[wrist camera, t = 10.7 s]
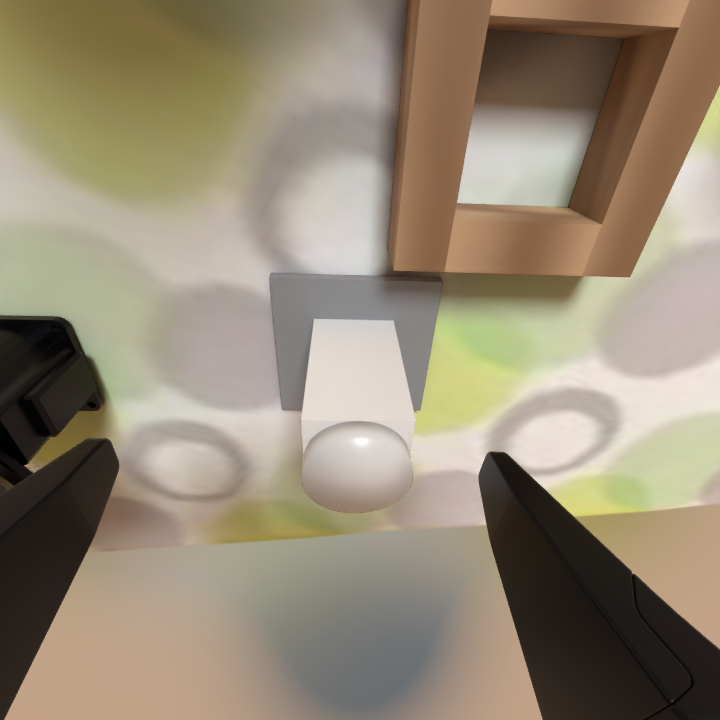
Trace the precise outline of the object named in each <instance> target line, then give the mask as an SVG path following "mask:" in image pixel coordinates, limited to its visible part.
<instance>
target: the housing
mask: <svg viewBox="0 0 720 720" xmlns="http://www.w3.org/2000/svg"><path fill="white" fill-rule="evenodd" d="M487 29H488V30H504V31H520V32H535V33H551V34H567V35H583V36H599V37H615V38H625V39H624V42H623V45H622V48H621V51H620V54H619V57H618V60H617V63H616V66H615V69H614V72H613V75H612V78H611V81H610V84H609V87H608V90H607V93H606V96H605V99H604V102H603V105H602V108H601V111H600V114H599V116H598V119H597V122H596V125H595V128H594V131H593V134H592V137H591V140H590V143H589V146H588V149H587V152H586V155H585V158H584V161H583V164H582V167H581V170H580V173H579V176H578V179H577V182H576V185H575V188H574V191H573V194H572V197H571V200H570V203H569V206H568V208H566V207H540V206H513V205H487V204H460V203H457V198H458V192H459V187H460V181H461V175H462V170H463V164H464V158H465V153H466V147H467V141H468V136H469V130H470V124H471V119H472V113H473V107H474V102H475V96H476V90H477V85H478V79H479V73H480V68H481V62H482V56H483V51H484V45H485V39H486V34H487ZM719 85H720V0H408V12H407V23H406V35H405V47H404V59H403V70H402V82H401V94H400V106H399V118H398V129H397V141H396V153H395V165H394V176H393V188H392V200H391V212H390V223H389V235H388V247H387V249H388V252H389V256H390V259H391V263H392V266H393V270H394V271H424V272H460V273H496V274H532V275H567V276H603V277H630V276H631V274H632V272H633V270H634V267H635V265H636V263H637V261H638V259H639V257H640V255H641V252H642V250H643V248H644V246H645V244H646V242H647V240H648V238H649V235H650V233H651V231H652V229H653V227H654V225H655V223H656V220H657V218H658V216H659V214H660V212H661V210H662V208H663V205H664V203H665V201H666V199H667V197H668V195H669V193H670V190H671V188H672V186H673V184H674V182H675V180H676V178H677V175H678V173H679V171H680V169H681V167H682V165H683V163H684V160H685V158H686V156H687V154H688V152H689V150H690V148H691V145H692V143H693V141H694V139H695V137H696V135H697V133H698V130H699V128H700V126H701V124H702V122H703V120H704V118H705V115H706V113H707V111H708V109H709V107H710V105H711V103H712V100H713V98H714V96H715V94H716V92H717V90H718V88H719Z"/></svg>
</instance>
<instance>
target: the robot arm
mask: <svg viewBox="0 0 720 720" xmlns="http://www.w3.org/2000/svg"><path fill="white" fill-rule="evenodd" d="M56 325H58V326H60V328H59V327H57V326H56ZM103 403H104V402H103V399H102V397H101V394H100V392H99V390H98V388H97V385H96V383H95V381H94V378H93V376H92V374H91V371H90V369H89V367H88V365H87V362H86V360H85V358H84V356H83V353H82V351H81V349H80V347H79V344H78V342H77V340H76V337H75V335H74V333H73V331H72V328H71V326H70V324H69V323H68V321H66V320H65V319H63V318H61V317H53V316H4V315H0V720H4V719H5V716H6V715H7V713H8V711H9V709H10V707H11V704H12V703H13V700H14V699H15V697H16V695H17V693H18V690H19V688H20V686H21V684H22V682H23V680H24V678H25V676H26V674H27V672H28V670H29V668H30V666H31V664H32V662H33V660H34V658H35V656H36V654H37V652H38V650H39V648H40V646H41V644H42V642H43V640H44V638H45V636H46V634H47V632H48V630H49V628H50V626H51V624H52V621H53V619H54V617H55V615H56V613H57V611H58V609H59V607H60V605H61V603H62V601H63V599H64V597H65V595H66V593H67V591H68V589H69V587H70V585H71V583H72V581H73V579H74V577H75V575H76V573H77V571H78V569H79V567H80V564H81V563H82V561H83V559H84V557H85V554H86V552H87V550H88V548H89V546H90V544H91V542H92V540H93V538H94V536H95V533H96V531H97V528H98V526H99V523H100V520H101V518H102V515H103V512H104V510H105V507H106V504H107V501H108V499H109V496H110V493H111V490H112V488H113V485H114V482H115V480H116V477H117V474H118V471H119V461H118V458H117V455H116V453H115V450H114V448H113V445H112V443H111V441H110V440H109V439H107V438H88V439H86V440H84V441H83V442H81V443H80V444H78V445H77V446H75V447H73V448H72V449H70V450H69V451H67V452H66V453H64V454H63V455H61V456H60V457H58V458H57V459H55V460H53V461H52V462H50V463H49V464H47V465H46V466H44V467H43V468H41V469H40V470H38V471H37V472H35V473H33V472H32V471H30V470H29V469H28V468H27V467H25V466H24V465H27V464H28V463H29V461H30V460H31V459H32V458H33V457H34V456H35V454H36V453H37V452H38V451H39V450H40V449H41V447H42V446H43V445H44V444H45V443H46V442H47V440H48V439H49V438H50V437H56V436H57V435H58V434H59V433H60V432H61V431H62V430H63V429H64V427H65V426H66V425H67V424H68V423H69V421H70V420H71V419H72V418H73V417H74V415H75V414H76V413H77V412H78V411H97V410H99V409H100V408H101V406H102V405H103ZM479 486H480V491H481V497H482V502H483V507H484V513H485V518H486V524H487V529H488V534H489V539H490V543H491V547H492V550H493V554H494V557H495V561H496V564H497V567H498V571H499V574H500V577H501V580H502V584H503V588H504V591H505V594H506V597H507V601H508V604H509V608H510V611H511V614H512V618H513V621H514V624H515V628H516V631H517V634H518V638H519V641H520V645H521V648H522V651H523V655H524V658H525V662H526V665H527V668H528V672H529V675H530V678H531V681H532V685H533V688H534V691H535V695H536V698H537V702H538V705H539V709H540V712H541V715H542V719H543V720H720V649H719V648H718V647H716V646H715V645H714V644H713V643H712V642H711V641H709V640H708V639H707V638H706V637H704V636H703V635H702V634H701V633H700V632H699V631H698V630H696V629H695V628H694V627H693V626H692V625H691V624H689V623H688V622H687V621H686V620H685V619H684V618H682V617H681V616H680V615H679V614H678V613H677V612H676V611H675V610H673V609H672V608H671V607H670V606H669V605H668V604H667V603H666V602H665V601H663V600H662V599H661V598H660V597H659V596H658V595H657V594H656V593H655V592H654V591H652V590H651V589H650V588H649V587H648V586H647V585H646V584H645V583H644V582H643V581H642V580H641V579H640V578H639V577H638V576H636V575H635V574H632V571H631V570H630V569H629V568H628V567H627V566H626V565H625V564H624V563H622V561H620V560H619V559H618V558H617V557H616V556H615V555H614V554H613V553H612V552H611V551H610V550H608V548H607V547H606V546H605V545H603V544H602V543H601V542H600V541H599V540H598V539H597V538H596V537H595V536H594V535H593V534H592V533H591V532H590V531H589V530H588V529H586V528H585V527H584V526H583V525H582V524H581V523H580V522H579V521H578V520H577V519H576V518H575V517H574V516H573V515H572V514H571V513H569V512H568V511H567V510H566V509H565V508H564V507H563V506H562V505H561V504H560V503H559V502H558V501H557V500H556V499H555V498H554V497H552V496H551V495H550V494H549V493H548V492H547V491H546V490H545V489H544V488H543V487H542V486H541V485H540V484H539V483H538V482H537V481H535V480H534V479H533V478H532V477H531V476H530V475H529V474H528V473H527V472H526V471H525V470H524V469H523V468H522V467H521V466H520V465H518V464H517V463H516V462H515V461H514V460H513V459H512V458H511V457H510V456H509V455H508V454H506V453H505V452H492V451H491V452H488V453H487V455H486V457H485V459H484V462H483V464H482V467H481V469H480V472H479Z"/></svg>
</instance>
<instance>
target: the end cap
mask: <svg viewBox="0 0 720 720" xmlns="http://www.w3.org/2000/svg"><path fill="white" fill-rule="evenodd" d="M415 424H416V419H415V415H414V410H413V406H412V401H411V397H410V392H409V388H408V383H407V379H406V374H405V370H404V365H403V361H402V356H401V352H400V347H399V343H398V338H397V334H396V329H395V325H394V321H390V320H345V319H314V323H313V331H312V339H311V346H310V354H309V362H308V370H307V378H306V385H305V393H304V401H303V409H302V416H301V429H302V447H303V463H302V473H301V482H302V486H303V489H304V490H305V493H306V494H307V495H308V496H309V497H310V498H311V499H312V500H313V501H315V502H316V503H318V504H319V505H321V506H323V507H326V508H328V509H331V510H335V511H339V512H346V513H364V512H371V511H375V510H379V509H382V508H385V507H387V506H389V505H391V504H393V503H395V502H396V501H398V500H399V499H400V498H402V497H403V496H404V495H405V494H406V493H407V491H408V490H409V488H410V486H411V484H412V481H413V469H412V463H411V458H410V453H411V447H412V441H413V436H414V430H415Z"/></svg>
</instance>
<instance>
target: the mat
mask: <svg viewBox="0 0 720 720" xmlns="http://www.w3.org/2000/svg"><path fill="white" fill-rule="evenodd" d="M442 285H443V281H442V279H441V278H434V277H397V276H360V275H323V274H286V273H271V275H270V288H271V299H272V309H273V320H274V330H275V341H276V351H277V362H278V372H279V383H280V394H281V404H282V409H298V410H302V409H303V401H304V393H305V385H306V378H307V370H308V362H309V354H310V346H311V339H312V331H313V323H314V319H345V320H390V321H394V325H395V329H396V334H397V338H398V343H399V347H400V352H401V356H402V361H403V365H404V370H405V374H406V379H407V383H408V388H409V392H410V397H411V401H412V406H413V410H420V409H421V403H422V398H423V392H424V387H425V381H426V375H427V370H428V364H429V358H430V353H431V347H432V341H433V336H434V330H435V324H436V319H437V313H438V307H439V302H440V296H441V290H442Z"/></svg>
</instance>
